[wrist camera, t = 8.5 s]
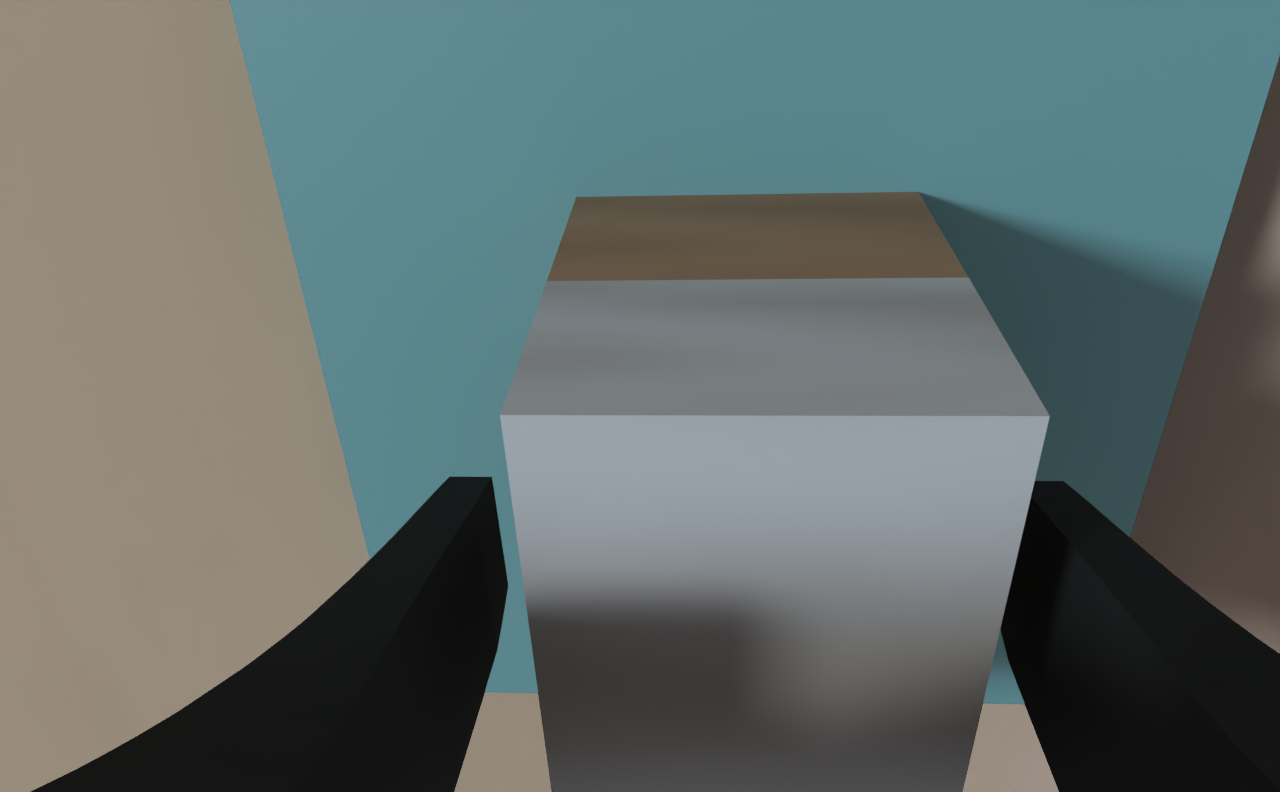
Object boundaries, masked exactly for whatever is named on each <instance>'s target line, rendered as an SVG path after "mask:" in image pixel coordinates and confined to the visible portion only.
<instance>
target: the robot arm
mask: <svg viewBox="0 0 1280 792" xmlns="http://www.w3.org/2000/svg"><path fill="white" fill-rule="evenodd" d="M507 591H508V580H507V573H506V566H505V560H504V553H503V547H502V540H501V533H500V527H499V520H498V513H497V507H496V500H495V494H494V487H493V480H492V477H451V476H450V477H449V478H448V479H447V480H446V481H445V482H444V483H443V484H442V485H441V486H440V487H439V488H438V489H437V490H436V491H435V492H434V493H433V494H432V495H431V496H430V497H429V498H428V499H427V500H426V501H425V503H424V504H423V505H422V506H421V507H420V508H419V509H418V510H417V511H416V512H415V513H414V514H413V515H412V517H411V518H410V519H409V520H408V521H407V522H406V523H405V524H404V525H403V526H402V527H401V528H400V529H399V530H398V531H397V532H396V534H395V535H394V536H393V537H392V538H391V539H390V540H389V541H388V542H387V543H386V544H385V545H384V546H383V547H382V548H381V549H380V550H379V551H378V552H377V553H376V554H375V555H374V556H373V557H372V558H371V559H370V560H369V561H368V562H367V563H366V564H365V565H364V566H363V567H362V568H361V569H360V570H359V571H358V572H357V573H356V574H355V575H354V576H353V577H352V578H351V579H350V580H349V581H348V582H346V583H345V584H344V585H343V586H342V587H341V588H340V589H339V590H338V591H337V592H336V593H334V594H333V595H332V596H331V597H330V598H329V599H328V600H327V601H326V602H325V603H324V604H322V605H321V606H320V607H319V608H318V609H317V610H316V611H315V612H314V613H313V614H311V615H310V616H309V617H308V618H307V619H306V620H305V621H303V622H302V623H301V624H300V625H299V626H297V627H296V628H295V629H294V630H292V631H291V632H290V633H289V634H287V635H286V636H285V637H284V638H282V639H281V640H280V641H278V642H277V643H276V644H275V645H273V646H272V647H271V648H269V649H268V650H267V651H265V652H264V653H263V654H262V655H260V656H259V657H258V658H256V659H255V660H254V661H252V662H251V663H250V664H248V665H247V666H245V667H244V668H243V669H241V670H240V671H238V672H237V673H235V674H234V675H232V676H231V677H229V678H228V679H226V680H225V681H223V682H222V683H220V684H219V685H217V686H216V687H214V688H213V689H211V690H210V691H208V692H207V693H205V694H204V695H202V696H201V697H199V698H198V699H196V700H195V701H193V702H192V703H190V704H189V705H187V706H186V707H184V708H183V709H181V710H180V711H178V712H177V713H175V714H173V715H172V716H170V717H169V718H167V719H165V720H164V721H162V722H160V723H158V724H157V725H155V726H153V727H152V728H150V729H148V730H147V731H145V732H143V733H142V734H140V735H138V736H137V737H135V738H133V739H131V740H129V741H128V742H126V743H124V744H122V745H120V746H119V747H117V748H115V749H113V750H111V751H110V752H108V753H106V754H104V755H103V756H101V757H99V758H97V759H95V760H93V761H91V762H89V763H88V764H86V765H84V766H82V767H80V768H78V769H76V770H74V771H72V772H70V773H68V774H66V775H64V776H62V777H60V778H58V779H56V780H54V781H52V782H50V783H48V784H46V785H44V786H42V787H39V788H37V789H35V790H33V791H31V792H454V790H455V787H456V784H457V780H458V777H459V774H460V771H461V768H462V764H463V761H464V758H465V755H466V751H467V748H468V745H469V742H470V738H471V735H472V732H473V729H474V725H475V722H476V719H477V716H478V712H479V709H480V706H481V703H482V700H483V696H484V693H485V690H486V686H487V683H488V680H489V676H490V673H491V670H492V666H493V663H494V660H495V656H496V653H497V649H498V644H499V638H500V633H501V627H502V622H503V616H504V609H505V603H506V597H507ZM1000 630H1001V634H1002V638H1003V642H1004V646H1005V650H1006V654H1007V657H1008V661H1009V664H1010V666H1011V669H1012V672H1013V675H1014V677H1015V680H1016V682H1017V685H1018V688H1019V690H1020V693H1021V695H1022V698H1023V701H1024V703H1025V706H1026V708H1027V711H1028V714H1029V716H1030V719H1031V721H1032V724H1033V726H1034V729H1035V731H1036V734H1037V737H1038V739H1039V742H1040V744H1041V747H1042V749H1043V752H1044V754H1045V757H1046V759H1047V762H1048V764H1049V767H1050V770H1051V772H1052V775H1053V777H1054V780H1055V782H1056V785H1057V787H1058V790H1059V792H1280V654H1279V653H1278V652H1276V651H1275V650H1273V649H1272V648H1270V647H1269V646H1267V645H1266V644H1264V643H1263V642H1262V641H1260V640H1259V639H1257V638H1256V637H1255V636H1253V635H1252V634H1251V633H1249V632H1248V631H1247V630H1245V629H1244V628H1242V627H1241V626H1240V625H1238V624H1237V623H1236V622H1234V621H1233V620H1232V619H1230V618H1229V617H1228V616H1226V615H1225V614H1224V613H1222V612H1221V611H1220V610H1218V609H1217V608H1216V607H1214V606H1213V605H1212V604H1210V603H1209V602H1208V601H1206V600H1205V599H1204V598H1203V597H1201V596H1200V595H1199V594H1198V593H1196V592H1195V591H1194V590H1192V589H1191V588H1190V587H1189V586H1187V585H1186V584H1185V583H1184V582H1182V581H1181V580H1180V579H1179V578H1177V577H1176V576H1175V575H1174V574H1173V573H1171V572H1170V571H1169V570H1168V569H1167V568H1165V567H1164V566H1163V565H1162V564H1160V563H1159V562H1158V561H1157V560H1156V559H1154V558H1153V557H1152V556H1151V555H1150V554H1149V553H1147V552H1146V551H1145V550H1144V549H1143V548H1141V547H1140V546H1139V545H1138V544H1137V543H1136V542H1134V541H1133V540H1132V539H1131V538H1130V537H1129V536H1127V535H1126V534H1125V533H1124V532H1123V531H1122V530H1121V529H1119V528H1118V527H1117V526H1116V525H1115V524H1114V523H1112V522H1111V521H1110V520H1109V519H1108V518H1107V517H1106V516H1104V515H1103V514H1102V513H1101V512H1100V511H1099V510H1097V509H1096V508H1095V507H1094V506H1093V505H1092V504H1091V503H1089V502H1088V501H1087V500H1086V499H1085V498H1084V497H1082V496H1081V495H1080V494H1079V493H1078V492H1076V491H1075V490H1074V489H1073V488H1071V487H1070V486H1069V485H1068V484H1067V483H1065V482H1064V481H1035V482H1034V486H1033V491H1032V495H1031V499H1030V504H1029V508H1028V512H1027V516H1026V521H1025V525H1024V529H1023V534H1022V538H1021V542H1020V546H1019V551H1018V555H1017V559H1016V564H1015V568H1014V572H1013V577H1012V581H1011V585H1010V589H1009V594H1008V598H1007V602H1006V607H1005V611H1004V615H1003V619H1002V624H1001V628H1000Z"/></svg>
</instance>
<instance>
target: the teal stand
mask: <svg viewBox="0 0 1280 792" xmlns="http://www.w3.org/2000/svg"><path fill="white" fill-rule="evenodd" d="M230 4H231V8H232V12H233V16H234V20H235V24H236V28H237V32H238V36H239V40H240V44H241V48H242V52H243V56H244V60H245V64H246V68H247V72H248V76H249V80H250V84H251V88H252V92H253V96H254V100H255V104H256V108H257V112H258V116H259V120H260V124H261V128H262V132H263V136H264V140H265V144H266V148H267V151H268V155H269V159H270V163H271V167H272V171H273V175H274V179H275V183H276V187H277V191H278V195H279V199H280V203H281V207H282V211H283V215H284V219H285V223H286V227H287V231H288V235H289V239H290V243H291V247H292V251H293V255H294V259H295V263H296V267H297V271H298V275H299V279H300V283H301V287H302V291H303V295H304V299H305V303H306V307H307V311H308V315H309V319H310V323H311V327H312V331H313V335H314V339H315V343H316V347H317V350H318V354H319V358H320V362H321V366H322V370H323V374H324V378H325V382H326V386H327V390H328V394H329V398H330V402H331V406H332V410H333V414H334V418H335V422H336V426H337V430H338V434H339V438H340V442H341V446H342V450H343V454H344V458H345V462H346V466H347V470H348V474H349V478H350V482H351V486H352V490H353V494H354V498H355V502H356V506H357V510H358V514H359V518H360V522H361V526H362V530H363V534H364V538H365V542H366V546H367V550H368V553H369V557H370V559H371V558H372V557H373V556H374V555H375V554H376V553H377V552H378V551H379V550H380V549H381V548H382V547H383V546H384V545H385V544H386V543H387V542H388V541H389V540H390V539H391V538H392V537H393V536H394V535H395V534H396V532H397V531H398V530H399V529H400V528H401V527H402V526H403V525H404V524H405V523H406V522H407V521H408V520H409V519H410V518H411V517H412V515H413V514H414V513H415V512H416V511H417V510H418V509H419V508H420V507H421V506H422V505H423V504H424V503H425V501H426V500H427V499H428V498H429V497H430V496H431V495H432V494H433V493H434V492H435V491H436V490H437V489H438V488H439V487H440V486H441V485H442V484H443V483H444V482H445V481H446V480H447V479H448V478H449V477H450V476H451V477H492V480H493V487H494V494H495V500H496V507H497V513H498V520H499V527H500V533H501V540H502V547H503V553H504V560H505V566H506V573H507V580H508V591H507V597H506V603H505V609H504V616H503V622H502V627H501V633H500V638H499V644H498V649H497V653H496V656H495V660H494V663H493V666H492V670H491V673H490V676H489V680H488V683H487V686H486V690H485V692H503V693H538V688H537V680H536V673H535V666H534V659H533V651H532V644H531V637H530V630H529V623H528V615H527V608H526V601H525V594H524V586H523V579H522V572H521V565H520V557H519V550H518V543H517V536H516V528H515V521H514V514H513V507H512V499H511V492H510V485H509V478H508V470H507V463H506V456H505V449H504V441H503V434H502V427H501V420H500V413H501V411H502V408H503V405H504V402H505V399H506V396H507V393H508V391H509V388H510V385H511V382H512V379H513V376H514V373H515V371H516V368H517V365H518V362H519V359H520V356H521V353H522V350H523V348H524V345H525V342H526V339H527V336H528V333H529V330H530V328H531V325H532V322H533V319H534V316H535V313H536V310H537V308H538V305H539V302H540V299H541V296H542V293H543V290H544V288H545V285H546V282H547V279H548V276H549V273H550V270H551V268H552V265H553V262H554V259H555V256H556V253H557V250H558V247H559V245H560V242H561V239H562V236H563V233H564V230H565V227H566V225H567V222H568V219H569V216H570V213H571V210H572V207H573V205H574V202H575V199H576V197H602V196H669V195H736V194H802V193H869V192H919V194H920V195H921V197H922V199H923V200H924V202H925V204H926V206H927V207H928V209H929V211H930V212H931V214H932V216H933V217H934V219H935V221H936V223H937V224H938V226H939V228H940V229H941V231H942V233H943V235H944V236H945V238H946V240H947V241H948V243H949V245H950V247H951V248H952V250H953V252H954V253H955V255H956V257H957V258H958V260H959V262H960V264H961V265H962V267H963V269H964V270H965V272H966V274H967V276H968V277H969V279H970V281H971V282H972V284H973V286H974V287H975V289H976V291H977V293H978V294H979V296H980V298H981V299H982V301H983V303H984V305H985V306H986V308H987V310H988V311H989V313H990V315H991V317H992V318H993V320H994V322H995V323H996V325H997V327H998V328H999V330H1000V332H1001V334H1002V335H1003V337H1004V339H1005V340H1006V342H1007V344H1008V346H1009V347H1010V349H1011V351H1012V352H1013V354H1014V356H1015V357H1016V359H1017V361H1018V363H1019V364H1020V366H1021V368H1022V369H1023V371H1024V373H1025V375H1026V376H1027V378H1028V380H1029V381H1030V383H1031V385H1032V387H1033V388H1034V390H1035V392H1036V393H1037V395H1038V397H1039V398H1040V400H1041V402H1042V404H1043V405H1044V407H1045V409H1046V410H1047V412H1048V414H1049V416H1050V418H1049V422H1048V426H1047V430H1046V435H1045V439H1044V443H1043V448H1042V452H1041V456H1040V461H1039V465H1038V469H1037V473H1036V478H1035V481H1064V482H1065V483H1067V484H1068V485H1069V486H1070V487H1071V488H1073V489H1074V490H1075V491H1076V492H1078V493H1079V494H1080V495H1081V496H1082V497H1084V498H1085V499H1086V500H1087V501H1088V502H1089V503H1091V504H1092V505H1093V506H1094V507H1095V508H1096V509H1097V510H1099V511H1100V512H1101V513H1102V514H1103V515H1104V516H1106V517H1107V518H1108V519H1109V520H1110V521H1111V522H1112V523H1114V524H1115V525H1116V526H1117V527H1118V528H1119V529H1121V530H1122V531H1123V532H1124V533H1125V534H1126V535H1127V536H1129V537H1130V536H1131V533H1132V529H1133V526H1134V523H1135V520H1136V517H1137V513H1138V510H1139V507H1140V504H1141V500H1142V497H1143V494H1144V491H1145V488H1146V484H1147V481H1148V478H1149V475H1150V471H1151V468H1152V465H1153V462H1154V459H1155V455H1156V452H1157V449H1158V446H1159V443H1160V439H1161V436H1162V433H1163V430H1164V426H1165V423H1166V420H1167V417H1168V414H1169V410H1170V407H1171V404H1172V401H1173V397H1174V394H1175V391H1176V388H1177V385H1178V381H1179V378H1180V375H1181V372H1182V369H1183V365H1184V362H1185V359H1186V356H1187V352H1188V349H1189V346H1190V343H1191V340H1192V336H1193V333H1194V330H1195V327H1196V324H1197V320H1198V317H1199V314H1200V311H1201V307H1202V304H1203V301H1204V298H1205V295H1206V291H1207V288H1208V285H1209V282H1210V278H1211V275H1212V272H1213V269H1214V266H1215V262H1216V259H1217V256H1218V253H1219V250H1220V246H1221V243H1222V240H1223V237H1224V233H1225V230H1226V227H1227V224H1228V221H1229V217H1230V214H1231V211H1232V208H1233V205H1234V201H1235V198H1236V195H1237V192H1238V188H1239V185H1240V182H1241V179H1242V176H1243V172H1244V169H1245V166H1246V163H1247V159H1248V156H1249V153H1250V150H1251V147H1252V143H1253V140H1254V137H1255V134H1256V131H1257V127H1258V124H1259V121H1260V118H1261V114H1262V111H1263V108H1264V105H1265V102H1266V98H1267V95H1268V92H1269V89H1270V85H1271V82H1272V79H1273V76H1274V73H1275V69H1276V66H1277V63H1278V60H1279V57H1280V0H230ZM983 703H993V704H1025V703H1024V701H1023V698H1022V695H1021V693H1020V690H1019V688H1018V685H1017V682H1016V680H1015V677H1014V675H1013V672H1012V669H1011V666H1010V664H1009V661H1008V657H1007V654H1006V650H1005V646H1004V642H1003V638H1002V634H1001V630H1000V632H999V637H998V641H997V645H996V650H995V654H994V658H993V662H992V667H991V671H990V675H989V680H988V684H987V688H986V692H985V697H984V701H983Z"/></svg>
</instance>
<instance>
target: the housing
mask: <svg viewBox="0 0 1280 792" xmlns="http://www.w3.org/2000/svg"><path fill="white" fill-rule="evenodd" d="M1049 418H1050V416H1049V414H1048V412H1047V410H1046V409H1045V407H1044V405H1043V404H1042V402H1041V400H1040V398H1039V397H1038V395H1037V393H1036V392H1035V390H1034V388H1033V387H1032V385H1031V383H1030V381H1029V380H1028V378H1027V376H1026V375H1025V373H1024V371H1023V369H1022V368H1021V366H1020V364H1019V363H1018V361H1017V359H1016V357H1015V356H1014V354H1013V352H1012V351H1011V349H1010V347H1009V346H1008V344H1007V342H1006V340H1005V339H1004V337H1003V335H1002V334H1001V332H1000V330H999V328H998V327H997V325H996V323H995V322H994V320H993V318H992V317H991V315H990V313H989V311H988V310H987V308H986V306H985V305H984V303H983V301H982V299H981V298H980V296H979V294H978V293H977V291H976V289H975V287H974V286H973V284H972V282H971V281H970V279H969V277H968V276H967V274H966V272H965V270H964V269H963V267H962V265H961V264H960V262H959V260H958V258H957V257H956V255H955V253H954V252H953V250H952V248H951V247H950V245H949V243H948V241H947V240H946V238H945V236H944V235H943V233H942V231H941V229H940V228H939V226H938V224H937V223H936V221H935V219H934V217H933V216H932V214H931V212H930V211H929V209H928V207H927V206H926V204H925V202H924V200H923V199H922V197H921V195H920V194H919V192H869V193H802V194H736V195H669V196H602V197H576V199H575V202H574V205H573V207H572V210H571V213H570V216H569V219H568V222H567V225H566V227H565V230H564V233H563V236H562V239H561V242H560V245H559V247H558V250H557V253H556V256H555V259H554V262H553V265H552V268H551V270H550V273H549V276H548V279H547V282H546V285H545V288H544V290H543V293H542V296H541V299H540V302H539V305H538V308H537V310H536V313H535V316H534V319H533V322H532V325H531V328H530V330H529V333H528V336H527V339H526V342H525V345H524V348H523V350H522V353H521V356H520V359H519V362H518V365H517V368H516V371H515V373H514V376H513V379H512V382H511V385H510V388H509V391H508V393H507V396H506V399H505V402H504V405H503V408H502V411H501V413H500V420H501V427H502V434H503V441H504V449H505V456H506V463H507V470H508V478H509V485H510V492H511V499H512V507H513V514H514V521H515V528H516V536H517V543H518V550H519V557H520V565H521V572H522V579H523V586H524V594H525V601H526V608H527V615H528V623H529V630H530V637H531V644H532V651H533V659H534V666H535V673H536V680H537V688H538V695H539V702H540V709H541V717H542V724H543V731H544V738H545V746H546V753H547V760H548V767H549V775H550V782H551V789H552V792H962V791H963V787H964V783H965V778H966V774H967V770H968V765H969V761H970V757H971V753H972V748H973V744H974V740H975V735H976V731H977V727H978V723H979V718H980V714H981V710H982V705H983V701H984V697H985V692H986V688H987V684H988V680H989V675H990V671H991V667H992V662H993V658H994V654H995V650H996V645H997V641H998V637H999V632H1000V628H1001V624H1002V619H1003V615H1004V611H1005V607H1006V602H1007V598H1008V594H1009V589H1010V585H1011V581H1012V577H1013V572H1014V568H1015V564H1016V559H1017V555H1018V551H1019V546H1020V542H1021V538H1022V534H1023V529H1024V525H1025V521H1026V516H1027V512H1028V508H1029V504H1030V499H1031V495H1032V491H1033V486H1034V482H1035V478H1036V473H1037V469H1038V465H1039V461H1040V456H1041V452H1042V448H1043V443H1044V439H1045V435H1046V430H1047V426H1048V422H1049Z"/></svg>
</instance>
